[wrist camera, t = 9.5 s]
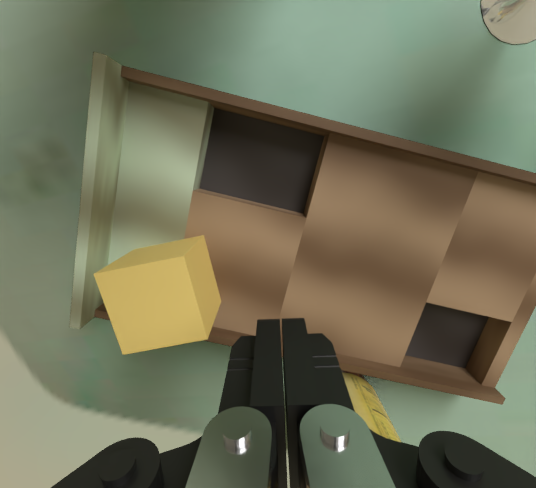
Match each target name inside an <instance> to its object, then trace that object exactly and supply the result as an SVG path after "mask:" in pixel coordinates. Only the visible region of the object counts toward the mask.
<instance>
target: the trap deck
mask: <svg viewBox="0 0 536 488" xmlns="http://www.w3.org/2000/svg"><path fill="white" fill-rule="evenodd" d="M202 235H204V238H205V241H206V245H207V249H208V253H209V257H210V260H211V264H212V268H213V272H214V276H215V279H216V283H217V287H218V291H219V295H220V298H221V303H220V306H219V309H218V312H217V315H216V317H215V320H214V323H213V326H212V329H211V331H210V334H209V337H208V339H207V340H204V341H209V342H214V343H218V344H223V345H228V346H233V345H234V343H235V342H236V341H237V340H238V339H239V338H240V336H256V327H257V319H280V334H281V353H282V357H283V343H282V318H304V319H305V323H306V328H307V333H308V334H313V333H323V334H324V335H325V336H326V337H327V338H328V339H329V340H330V341H331V342H332V344H333V347H334V350H335V353H336V357H337V359H338V362H339V366H340V368H341V370H344V371H349V372H353V373H358V374H362V375H367V376H372V377H376V378H381V379H386V380H390V381H395V382H400V383H404V384H409V385H414V386H418V387H423V388H428V389H432V390H437V391H442V392H446V393H451V394H456V395H460V396H465V397H470V398H474V399H479V400H483V401H488V402H493V403H497V404H503V402H504V400H505V398H504V397H503V396H502V395H501V394H500V393H499V392H498V391H497V390H496V389H495V386H496V384H497V382H498V380H499V378H500V376H501V374H502V372H503V370H504V368H505V366H506V364H507V362H508V360H509V358H510V356H511V354H512V352H513V350H514V348H515V346H516V344H517V342H518V340H519V338H520V336H521V334H522V332H523V330H524V328H525V326H526V324H527V322H528V320H529V318H530V316H531V314H532V312H533V310H534V308H535V306H536V173H533V172H529V171H525V170H521V169H517V168H513V167H510V166H506V165H502V164H498V163H494V162H490V161H487V160H483V159H479V158H475V157H471V156H467V155H464V154H460V153H456V152H452V151H448V150H444V149H440V148H437V147H433V146H429V145H425V144H421V143H417V142H414V141H410V140H406V139H402V138H398V137H394V136H390V135H387V134H383V133H379V132H375V131H371V130H367V129H364V128H360V127H356V126H352V125H348V124H344V123H341V122H337V121H333V120H329V119H325V118H321V117H317V116H314V115H310V114H306V113H302V112H298V111H294V110H291V109H287V108H283V107H279V106H275V105H271V104H267V103H264V102H260V101H256V100H252V99H248V98H244V97H241V96H237V95H233V94H229V93H225V92H221V91H218V90H214V89H210V88H206V87H202V86H198V85H194V84H191V83H187V82H183V81H179V80H175V79H171V78H168V77H164V76H160V75H156V74H152V73H148V72H144V71H141V70H137V69H133V68H129V67H125V66H122V65H120V64H119V63H117V62H116V61H114V60H113V59H111V58H110V57H109V56H107V55H104V54H100V53H97V52H93V62H92V74H91V85H90V97H89V108H88V119H87V131H86V142H85V154H84V165H83V176H82V188H81V199H80V210H79V222H78V233H77V245H76V256H75V267H74V279H73V290H72V302H71V313H70V324H69V327H71V328H76V329H81V328H82V327H83V326H84V325H85V324H87V323H88V322H89V321H90V320H91V319H92V318H94V317H97V318H102V319H107V320H110V318H109V315H108V312H107V310H106V307H105V304H104V302H103V299H102V296H101V293H100V291H99V288H98V285H97V282H96V280H95V277H94V273H96V272H97V271H99V270H101V269H102V268H104V267H106V266H107V265H109V264H111V263H112V262H114V261H116V260H117V259H119V258H120V257H122V256H124V255H125V254H127V253H129V252H130V251H132V250H134V249H138V248H143V247H148V246H153V245H158V244H163V243H168V242H173V241H178V240H182V239H187V238H192V237H197V236H202Z"/></svg>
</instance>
